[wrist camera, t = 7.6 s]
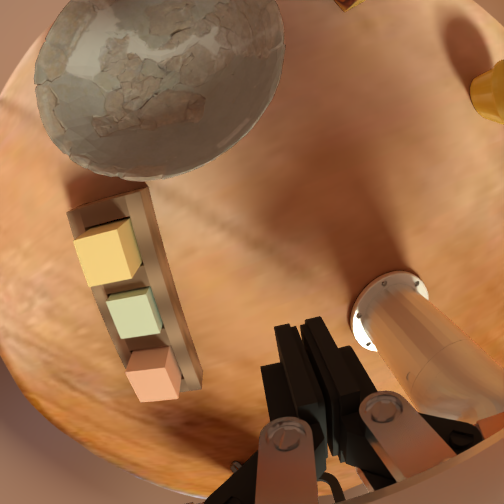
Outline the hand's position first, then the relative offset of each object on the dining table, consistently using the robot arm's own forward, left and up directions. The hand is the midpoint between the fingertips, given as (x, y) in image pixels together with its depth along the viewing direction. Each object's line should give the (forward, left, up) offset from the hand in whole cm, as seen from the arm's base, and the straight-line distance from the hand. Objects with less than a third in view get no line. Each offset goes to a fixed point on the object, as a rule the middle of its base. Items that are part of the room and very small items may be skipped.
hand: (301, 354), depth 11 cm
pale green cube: (-4, +16, -27) cm, 32 cm away
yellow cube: (+4, +14, -24) cm, 28 cm away
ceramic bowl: (+18, +1, -27) cm, 33 cm away
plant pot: (+1, -39, -27) cm, 48 cm away
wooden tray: (-4, +17, -27) cm, 32 cm away
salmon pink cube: (-12, +19, -24) cm, 33 cm away
